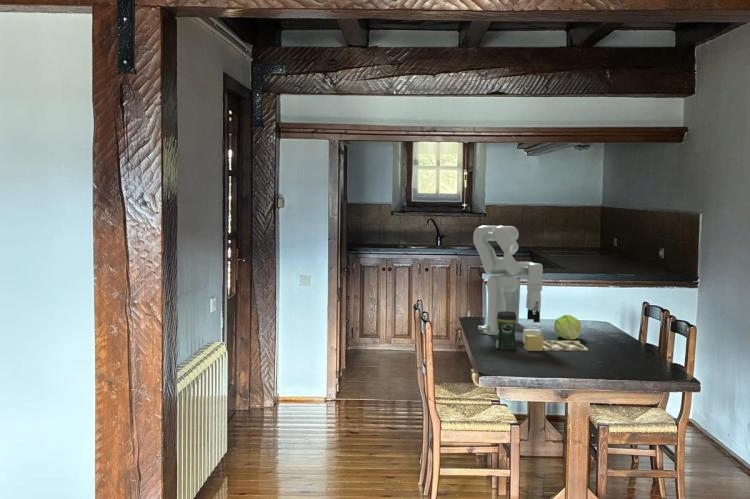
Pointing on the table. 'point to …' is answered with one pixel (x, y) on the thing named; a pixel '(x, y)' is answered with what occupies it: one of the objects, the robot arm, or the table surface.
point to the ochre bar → (534, 342)
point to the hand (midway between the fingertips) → (533, 320)
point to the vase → (513, 300)
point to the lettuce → (567, 327)
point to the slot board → (563, 346)
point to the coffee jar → (506, 330)
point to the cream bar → (530, 333)
